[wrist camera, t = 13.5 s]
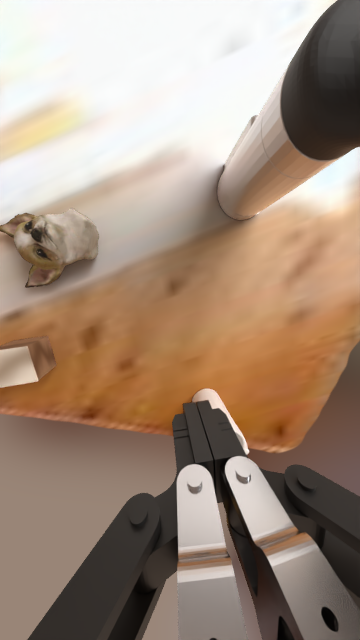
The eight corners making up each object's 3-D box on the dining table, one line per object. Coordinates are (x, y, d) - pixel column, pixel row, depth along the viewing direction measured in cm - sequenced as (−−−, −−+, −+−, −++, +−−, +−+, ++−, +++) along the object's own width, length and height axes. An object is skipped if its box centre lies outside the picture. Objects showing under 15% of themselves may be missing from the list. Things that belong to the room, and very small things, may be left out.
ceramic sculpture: (102, 260, 25) (-5, 294, 25) (118, 265, 33) (39, 290, 33) (67, 171, 22) (-51, 209, 22) (95, 201, 31) (9, 228, 31)
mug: (184, 406, 41) (195, 456, 29) (201, 382, 40) (219, 423, 28) (220, 424, 43) (244, 477, 31) (237, 401, 42) (267, 446, 30)
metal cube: (26, 346, 28) (48, 335, 34) (-17, 352, 28) (13, 340, 34) (37, 381, 30) (56, 365, 36) (-3, 388, 29) (23, 370, 35)
